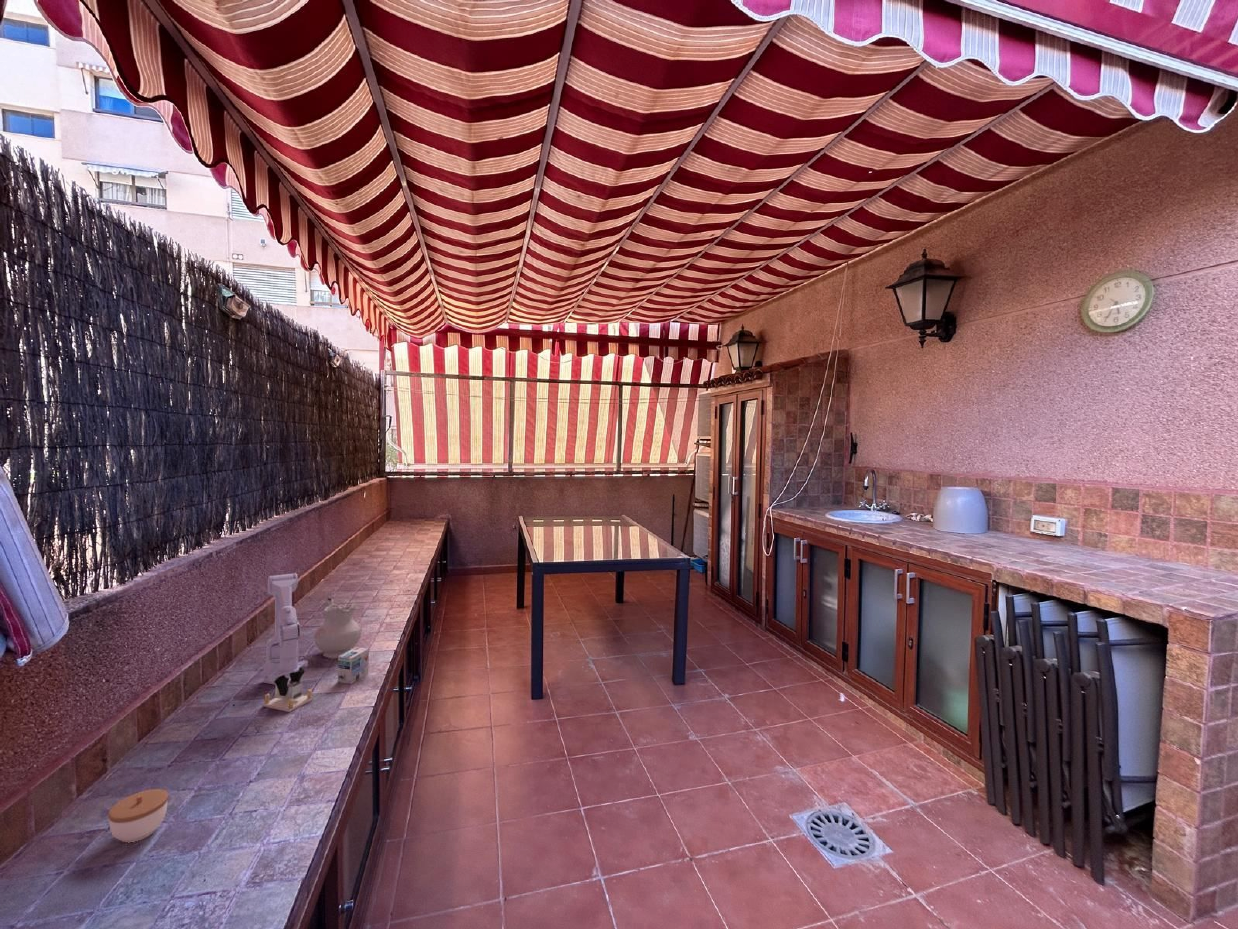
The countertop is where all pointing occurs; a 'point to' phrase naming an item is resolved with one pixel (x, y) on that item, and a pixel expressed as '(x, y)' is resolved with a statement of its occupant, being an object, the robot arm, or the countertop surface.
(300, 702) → the wooden peg board
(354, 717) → the countertop surface
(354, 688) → the countertop surface
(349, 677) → the light bulb box
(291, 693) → the mauve rectangular box
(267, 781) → the countertop surface
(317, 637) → the beige vase
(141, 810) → the lidded jar
